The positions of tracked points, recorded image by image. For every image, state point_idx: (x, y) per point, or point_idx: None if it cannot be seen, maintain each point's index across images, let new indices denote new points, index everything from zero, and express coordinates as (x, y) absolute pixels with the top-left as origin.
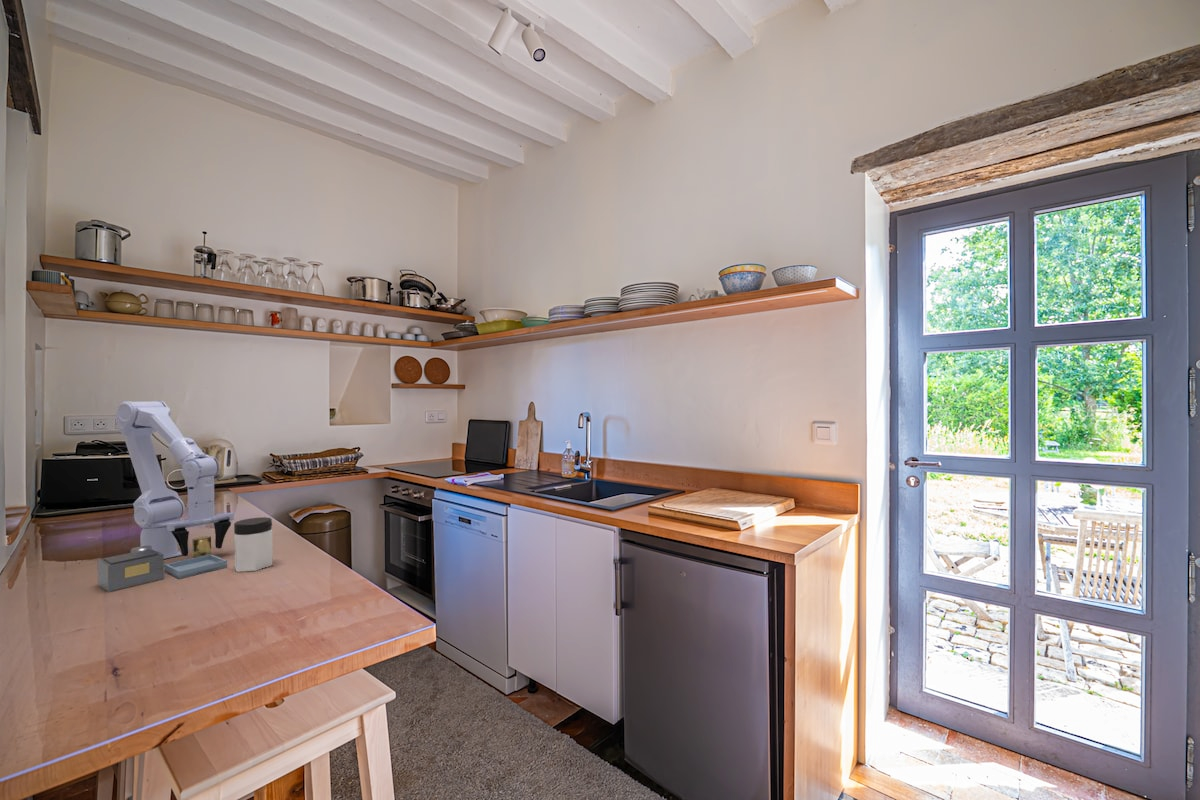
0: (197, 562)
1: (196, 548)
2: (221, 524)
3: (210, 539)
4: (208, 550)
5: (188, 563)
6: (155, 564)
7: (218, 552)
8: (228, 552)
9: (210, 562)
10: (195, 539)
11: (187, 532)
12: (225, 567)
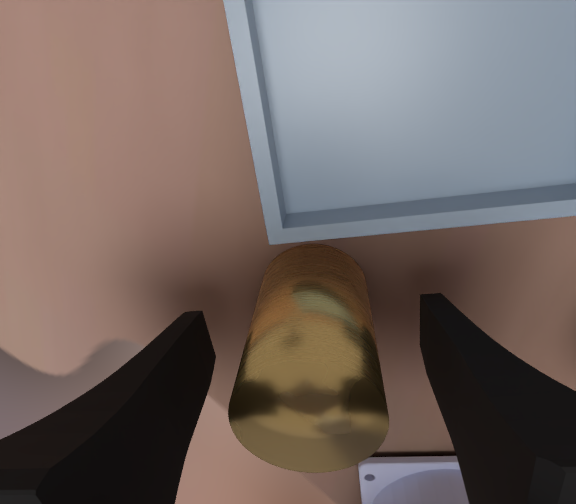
0: (371, 194)
1: (362, 323)
2: (50, 491)
3: (241, 370)
4: (275, 292)
5: (431, 202)
6: None
7: None
8: None
9: (301, 103)
10: (364, 419)
11: (560, 449)
12: None
